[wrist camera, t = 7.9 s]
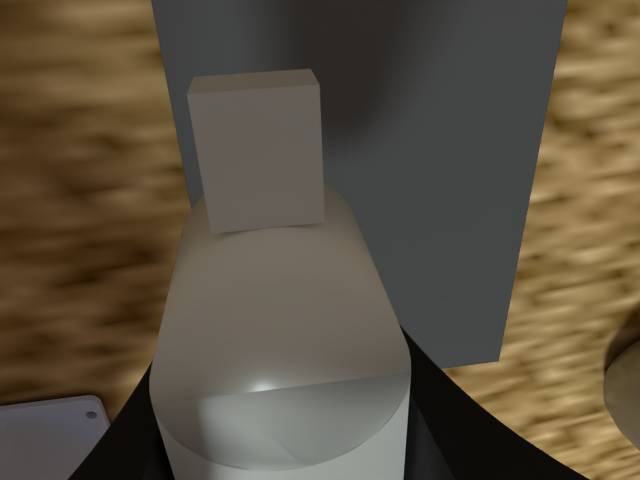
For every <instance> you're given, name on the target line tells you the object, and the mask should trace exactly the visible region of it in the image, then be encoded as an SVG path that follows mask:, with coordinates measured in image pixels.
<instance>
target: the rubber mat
mask: <svg viewBox="0 0 640 480" xmlns="http://www.w3.org/2000/svg"><path fill="white" fill-rule="evenodd" d="M567 1H568V0H151V2H152V7H153V13H154V18H155V23H156V28H157V33H158V39H159V44H160V49H161V54H162V59H163V64H164V70H165V75H166V80H167V85H168V90H169V95H170V101H171V106H172V111H173V116H174V121H175V127H176V132H177V137H178V142H179V147H180V152H181V158H182V163H183V168H184V173H185V178H186V183H187V189H188V194H189V199H190V204H191V209H192V208H193V206H194V205H195V203H196V202H197V201H198V199H199V198H200V197H201V196H202V195H203V194H204V190H203V184H202V179H201V173H200V167H199V162H198V156H197V150H196V144H195V139H194V133H193V127H192V121H191V116H190V110H189V104H188V99H187V92H188V90H189V87H190V85H191V83H192V80H193V78H194V77H197V76H212V75H226V74H241V73H255V72H270V71H284V70H299V69H311V70H312V72H313V74H314V76H315V77H316V79H317V81H318V83H319V84H320V109H321V133H322V158H323V181H324V182H326V183H327V184H329V185H330V186H331V187H333V188H334V189H335V190H336V191H337V192H338V193H339V194H340V195H341V196H342V197H343V198H344V199H345V201H346V202H347V203H348V205H349V207H350V208H351V210H352V212H353V214H354V216H355V219H356V221H357V223H358V226H359V228H360V231H361V233H362V235H363V238H364V240H365V243H366V245H367V248H368V250H369V252H370V255H371V257H372V260H373V262H374V265H375V267H376V269H377V272H378V274H379V277H380V279H381V282H382V284H383V286H384V289H385V291H386V294H387V296H388V299H389V301H390V303H391V306H392V308H393V311H394V313H395V316H396V318H397V320H398V323H399V324H400V325H401V326H402V328H403V329H404V330H405V331H406V332H407V333H408V335H409V336H410V337H411V338H412V339H413V340H414V341H415V343H416V344H417V345H418V346H419V347H420V348H421V349H422V350H423V351H424V352H425V354H426V355H427V356H428V357H429V358H430V359H431V360H432V361H433V362H434V363H435V364H436V365H437V366H438V367H439V368H440V369H443V368H451V367H458V366H466V365H474V364H482V363H489V362H497V361H499V357H500V351H501V346H502V341H503V336H504V330H505V325H506V320H507V315H508V309H509V304H510V299H511V294H512V289H513V283H514V278H515V273H516V268H517V262H518V257H519V252H520V247H521V241H522V236H523V231H524V226H525V221H526V215H527V210H528V205H529V200H530V194H531V189H532V184H533V179H534V173H535V168H536V163H537V158H538V152H539V147H540V142H541V137H542V132H543V126H544V121H545V116H546V111H547V105H548V100H549V95H550V90H551V84H552V79H553V74H554V69H555V64H556V58H557V53H558V48H559V43H560V37H561V32H562V27H563V22H564V16H565V11H566V6H567Z"/></svg>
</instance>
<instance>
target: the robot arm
mask: <svg viewBox="0 0 640 480" xmlns="http://www.w3.org/2000/svg"><path fill="white" fill-rule="evenodd" d="M399 325H400V324H399ZM400 328H401V330H402V333H403V335H404V337H405V340H406V343H407V345H408V348H409V353H410V358H411V380H410V394H409V408H408V422H407V436H406V450H405V464H404V478H403V480H589V479H588V478H586V477H584V476H583V475H581V474H579V473H577V472H576V471H574V470H572V469H570V468H569V467H567V466H565V465H563V464H562V463H560V462H559V461H557V460H555V459H554V458H552V457H551V456H549V455H548V454H546V453H545V452H543V451H542V450H540V449H539V448H537V447H535V446H534V445H532V444H531V443H529V442H528V441H526V440H525V439H523V438H522V437H520V436H519V435H518V434H516V433H515V432H513V431H512V430H511V429H509V428H508V427H507V426H505V425H504V424H503V423H501V422H500V421H499V420H497V419H496V418H495V417H494V416H492V415H491V414H490V413H489V412H487V411H486V410H485V409H484V408H482V407H481V406H480V405H479V404H478V403H477V402H475V401H474V400H473V399H472V398H471V397H470V396H469V395H467V394H466V393H465V392H464V391H463V390H462V389H461V388H460V387H459V386H457V385H456V384H455V383H454V382H453V381H452V380H451V379H450V378H449V377H448V376H447V375H446V374H445V373H444V372H443V371H442V370H441V369H440V368H439V367H438V366H437V365H436V364H435V363H434V362H433V361H432V360H431V359H430V358H429V357H428V356H427V355H426V354H425V352H424V351H423V350H422V349H421V348H420V347H419V346H418V345H417V344H416V343H415V341H414V340H413V339H412V338H411V337H410V336H409V335H408V333H407V332H406V331H405V330H404V329H403V328H402V326H401V325H400ZM152 362H153V360H152ZM152 362H151V364H150V366H149V367H148V369H147V371H146V372H145V374H144V376H143V377H142V379H141V380H140V382H139V384H138V385H137V387H136V388H135V390H134V391H133V393H132V394H131V396H130V397H129V399H128V401H127V402H126V404H125V405H124V407H123V408H122V410H121V411H120V413H119V414H118V415H117V417H116V418H115V420H114V421H113V422H112V424H111V425H110V423H109V420H108V418H107V415H106V412H105V410H104V407H103V405H102V402H101V400H100V399H99V398H98V397H96V396H93V395H85V396H77V397H69V398H61V399H53V400H45V401H38V402H30V403H22V404H14V405H6V406H0V480H175V478H174V475H173V472H172V468H171V465H170V462H169V459H168V455H167V452H166V449H165V446H164V442H163V439H162V436H161V432H160V429H159V426H158V423H157V419H156V416H155V413H154V410H153V406H152V402H151V397H150V392H149V378H150V373H151V367H152ZM93 412H95V413H93Z"/></svg>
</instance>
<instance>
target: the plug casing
mask: <svg viewBox="0 0 640 480" xmlns="http://www.w3.org/2000/svg"><path fill="white" fill-rule="evenodd" d="M187 99H188V104H189V110H190V116H191V121H192V127H193V133H194V139H195V144H196V150H197V156H198V162H199V167H200V173H201V179H202V184H203V190H204V194H203V195H202V196H201V197H200V198H199V199H198V201H197V202H196V203H195V205H194V206H193V208H192V209H191V211H190V213H189V214H188V216H187V218H186V221H185V224H184V227H183V230H182V234H181V238H180V243H179V247H178V252H177V256H176V261H175V265H174V269H173V274H172V278H171V283H170V287H169V292H168V296H167V300H166V305H165V309H164V314H163V318H162V323H161V327H160V331H159V336H158V340H157V345H156V349H155V353H154V358H153V362H152V367H151V373H150V378H149V392H150V397H151V402H152V406H153V410H154V413H155V416H156V419H157V423H158V426H159V429H160V432H161V436H162V439H163V442H164V446H165V449H166V452H167V455H168V459H169V462H170V465H171V468H172V472H173V475H174V478H175V480H403V478H404V464H405V450H406V436H407V422H408V408H409V394H410V380H411V358H410V353H409V348H408V345H407V343H406V340H405V337H404V335H403V333H402V330H401V328H400V325H399V323H398V320H397V318H396V316H395V313H394V311H393V308H392V306H391V303H390V301H389V299H388V296H387V294H386V291H385V289H384V286H383V284H382V282H381V279H380V277H379V274H378V272H377V269H376V267H375V265H374V262H373V260H372V257H371V255H370V252H369V250H368V248H367V245H366V243H365V240H364V238H363V235H362V233H361V231H360V228H359V226H358V223H357V221H356V219H355V216H354V214H353V212H352V210H351V208H350V207H349V205H348V203H347V202H346V201H345V199H344V198H343V197H342V196H341V195H340V194H339V193H338V192H337V191H336V190H335V189H334V188H333V187H331V186H330V185H329V184H327V183H326V182H324V181H323V158H322V133H321V109H320V84H319V83H318V81H317V79H316V77H315V76H314V74H313V72H312V70H311V69H299V70H284V71H270V72H255V73H241V74H226V75H212V76H197V77H194V78H193V80H192V83H191V85H190V87H189V90H188V92H187Z"/></svg>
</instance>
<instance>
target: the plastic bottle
mask: <svg viewBox="0 0 640 480" xmlns="http://www.w3.org/2000/svg"><path fill="white" fill-rule="evenodd" d="M603 393H604V403H605V406H606V408H607V410H608V411H609V413H610V415H611V417H612V419H613V420H614V422H615V424H616V426H617V428H618V429H619V430H620V431H621V433H622V434H623V435H624V436H625V437H626V438H627V439H628V440H629V441H630V442H631V443H632V444H633V445H634V446H635V447H636V448H637V449H638V450H639V451H640V340H639V341H637V342H636V343H634V344H632V345H631V346H629V347H628V348H627V349H625V350H624V351H623V352H622V353H620V354H619V356H618V357H617V358H616V359H615V360H614V361H613V362H612V364H611V365H610V366H609V368H608V370H607V372H606V374H605V377H604V381H603Z"/></svg>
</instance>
